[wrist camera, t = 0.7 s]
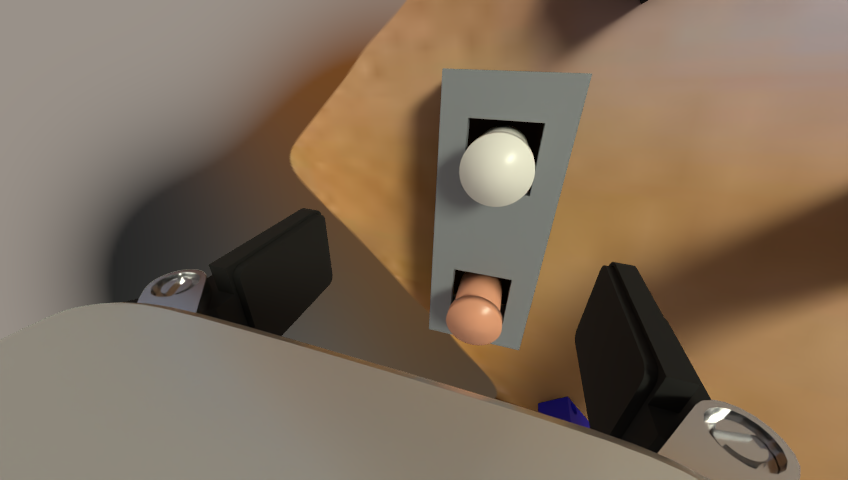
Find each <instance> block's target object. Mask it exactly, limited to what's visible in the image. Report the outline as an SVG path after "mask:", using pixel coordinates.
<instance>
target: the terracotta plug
mask: <svg viewBox="0 0 848 480" xmlns="http://www.w3.org/2000/svg"><path fill="white" fill-rule="evenodd" d="M502 288H503V287H502V282H501V280H500V278H499V277H493V276H488V275H483V274H477V273H472V272H466V273H465V274H464V275H463V277H462V279H461V282H460V285H459V288H458V292H457V295H456V298H455V300H454V301H453V302H452V303H451V305H450V307H449V310H448V313H447V316H446V324H447V327H448V329H449V330H450V332H451V333H452V334H453V335H454V336H455V337H456V338H458V339H459V340H461V341H463V342H465V343H468V344H472V345H486V344H489V343H492V342H493V341H495V340H496V339H497V338H498V337H499V336H500V334H501V330H502V314H501V312H500V306H501V297H502Z"/></svg>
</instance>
